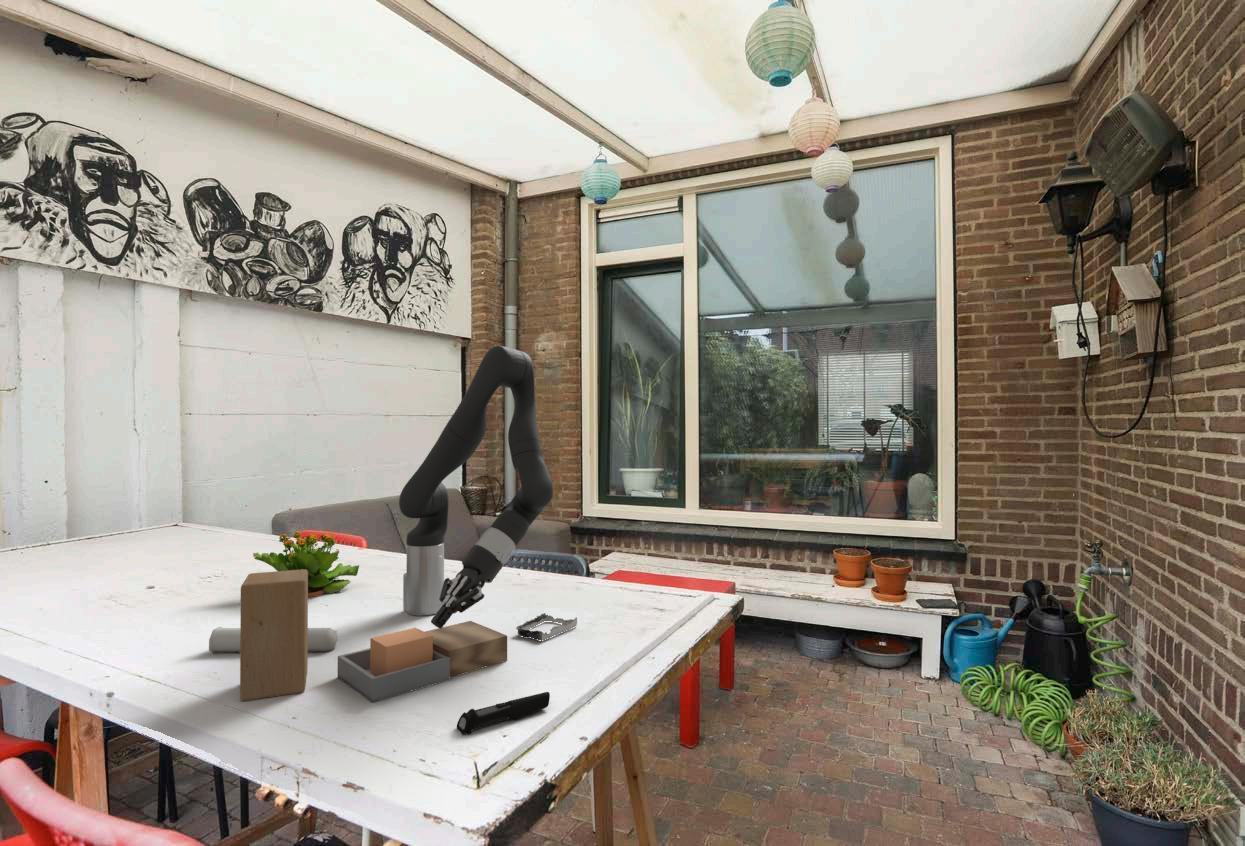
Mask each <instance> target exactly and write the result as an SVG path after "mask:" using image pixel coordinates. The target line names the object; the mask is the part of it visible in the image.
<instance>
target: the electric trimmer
mask: <svg viewBox="0 0 1245 846" xmlns="http://www.w3.org/2000/svg"><path fill="white" fill-rule="evenodd" d="M550 697H551V693H550V692H549V691H544V692H541V693H537V694H532V695H528V696H524V697H521V698H520V697H519V698H515V699H511V700H508V701H504V702H501V703H496V704H494V705H490V706H486V707H483V708H482V707H481V708H478V709H475V708H471V709H469V710H468V711H467V712H463V713H462V714H461V715H460V717H459V719H458V721H457V723H456V729H457V731H459V732H460V734H461V735H465V734H466V735H471V734H472V732H473V731H474V730H475V731H476V730H477V729H481V728H484V727H488V726H491V725H495V724H498V723H500V722H501V723H502V722H504V721H508V720H511V721H512V720H513V721H515V720H518V719H522V718H525V717H526V716H529V715H531V714H534V713H536V712H539V711H541V710H544V709H546V708H547V707H548V706H549V704H550Z"/></svg>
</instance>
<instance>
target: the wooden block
mask: <svg viewBox="0 0 1245 846" xmlns="http://www.w3.org/2000/svg"><path fill="white" fill-rule="evenodd" d="M308 606H309V598H308V571H307V570H306V569H301V570H289V571H277V570H276V571H266V572H265V571H264V572H255V573H254V572H253V573H249V574H248V575H247V576H246V578H245V579H244V581H242V584H241V586H240V623H239V624H240V627H239V628H240V652H239V653H240V654H239V655H240V656H239V657H240V659H239V661H240V662H239V663H240V665H239V674H240V675H239V678H240V679H239V683H240V684H239V692H240V693H239V700H240V701H241V702H242V701H243V702H246V701H252V700H259V699H266V698H274V697H279V696H280V697H281V696H286V695H287V696H288V695H294V694H301V693H303V692H305V690H306V686H307V685H306V684H307V676H308V662H309V661H308V658H309V657H308V653H309V652H308V628H309V624H308V623H309V621H308V620H309V619H308V617H309V614H308V613H309V607H308Z"/></svg>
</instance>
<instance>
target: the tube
mask: <svg viewBox="0 0 1245 846" xmlns="http://www.w3.org/2000/svg"><path fill="white" fill-rule="evenodd" d="M338 641H339V637H338V634H337V630H335V629H333V628H331V627H308V653H310V652H321V653H322V652H324V653H325V652H331V651H332V650H333V651H334V649H335V647H336V645H337V643H338ZM208 651H209V652H211V653H212V654H215V653H217V654H218V653H240V627H222V626H218V627H216V628H214V629H212V631H211V634H210V637H209V639H208Z"/></svg>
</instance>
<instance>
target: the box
mask: <svg viewBox="0 0 1245 846" xmlns="http://www.w3.org/2000/svg"><path fill="white" fill-rule="evenodd" d="M337 679H340V681H342V682H344V684H346V685H347V686H349V687H350V688H351V689H353V690H354V691H356V692H357V693H359V694H360V695H361V696H362V697H364V698H365V699H366V700H368V701H369V702H370V703H372V704H373V703H376V702H379V701H383V700H386V698H387V699H389V697H390V698H393V697H397V696H400V695H403V694H406V692H407V693H409V691H410V692H412V691H411V690H413V691H415V689H417V690H419V688H420V689H423V688H427V687H429V686H428V685H430V686H433V685H436V684H439V682H440V683H443V682H445V681H450V680H449V679H451V677H450V658H449V657H447V656H445V655H443V654H441V653H439V652H437V651H435V650H433V661H431V662H427V663H423V664H420V665H416V666H412V667H409V668H405V669H401V670H398V671H394V672H390V673H387V674H383V675H379V676H376V677H375V676H373V675H372V674H370V647H369V648H365V649H360V650H357V651H352V652H348V653H344V654H339V655H337ZM442 681H443V682H442ZM435 683H436V684H435ZM432 684H433V685H432ZM426 686H427V687H426ZM422 687H423V688H422ZM402 693H403V694H402ZM399 694H400V695H399ZM396 695H397V696H396Z"/></svg>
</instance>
